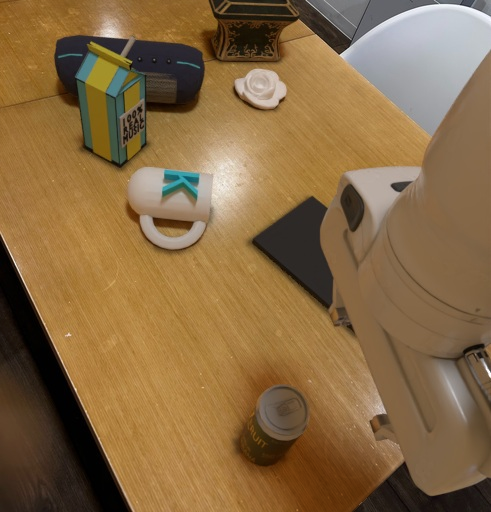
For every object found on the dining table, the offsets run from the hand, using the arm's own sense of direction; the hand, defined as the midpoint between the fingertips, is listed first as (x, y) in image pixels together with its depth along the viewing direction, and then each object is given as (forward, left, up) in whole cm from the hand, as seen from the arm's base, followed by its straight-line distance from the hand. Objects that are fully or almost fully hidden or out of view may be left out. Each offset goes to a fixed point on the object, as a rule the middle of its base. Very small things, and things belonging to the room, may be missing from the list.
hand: (358, 370), depth 39 cm
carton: (+52, -15, -23) cm, 58 cm away
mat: (+14, -25, -22) cm, 36 cm away
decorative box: (+61, -52, -23) cm, 83 cm away
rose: (+48, -45, -23) cm, 69 cm away
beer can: (+3, +2, -23) cm, 23 cm away
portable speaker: (+61, -25, -23) cm, 69 cm away
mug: (+35, -11, -23) cm, 43 cm away
